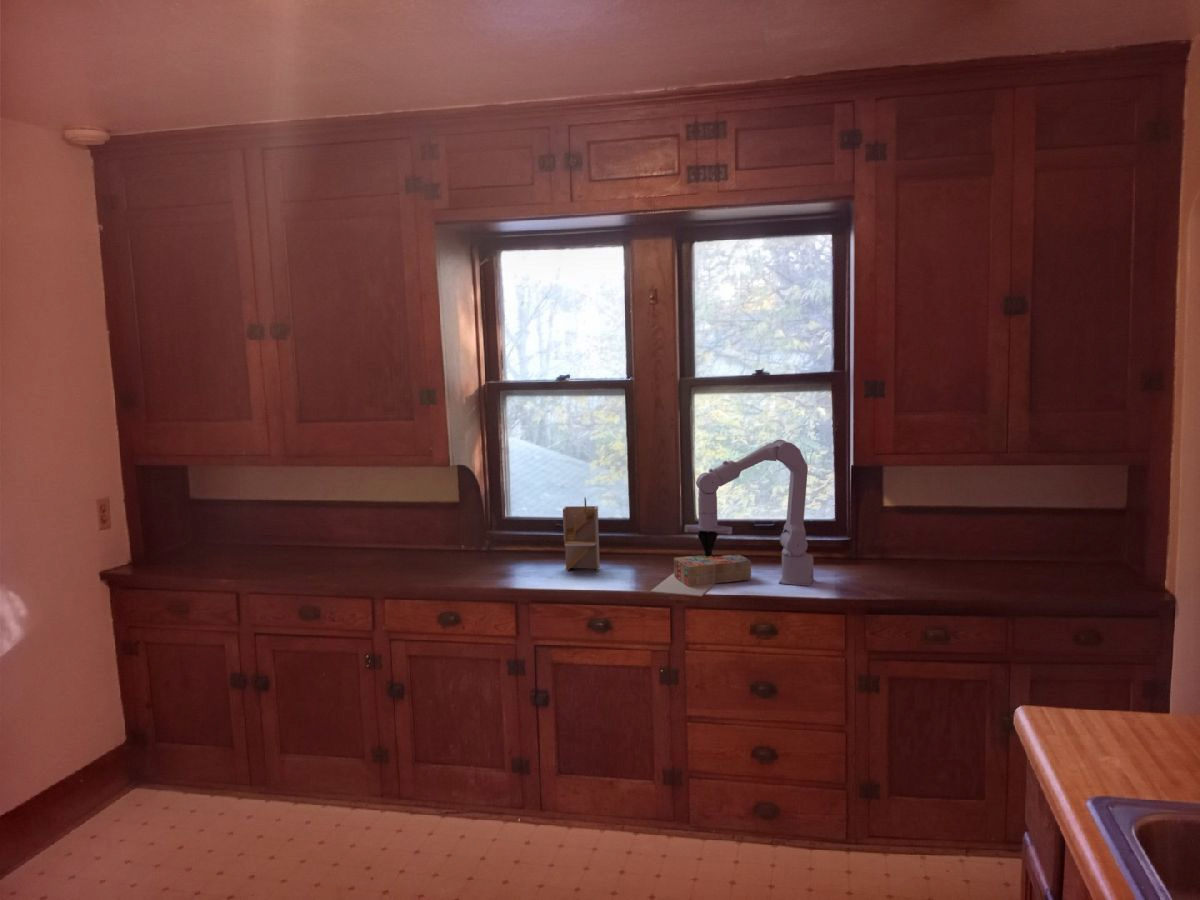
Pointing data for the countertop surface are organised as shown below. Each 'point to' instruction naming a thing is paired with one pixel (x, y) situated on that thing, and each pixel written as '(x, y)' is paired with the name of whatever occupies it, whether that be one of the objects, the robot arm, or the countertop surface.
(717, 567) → the stack of blocks
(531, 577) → the countertop surface
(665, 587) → the mat
